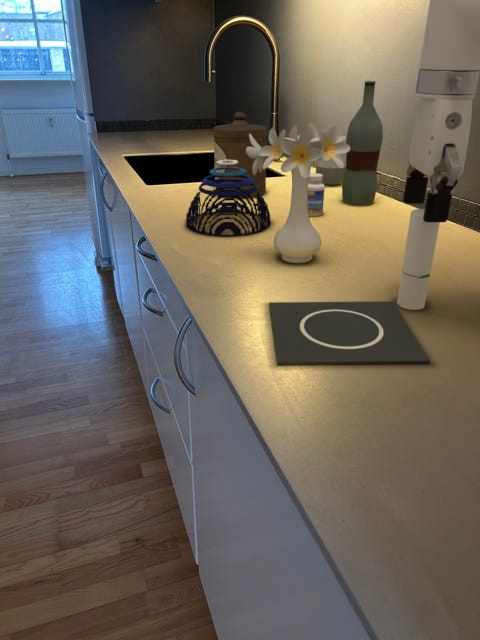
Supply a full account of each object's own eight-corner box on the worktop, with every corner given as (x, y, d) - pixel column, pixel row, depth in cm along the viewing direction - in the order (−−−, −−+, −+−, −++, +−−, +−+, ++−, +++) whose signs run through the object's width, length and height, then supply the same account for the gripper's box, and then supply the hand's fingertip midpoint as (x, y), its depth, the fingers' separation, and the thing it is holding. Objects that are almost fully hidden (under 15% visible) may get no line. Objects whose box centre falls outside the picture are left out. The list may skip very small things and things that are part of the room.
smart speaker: (311, 181, 162) (313, 135, 156) (338, 180, 164) (342, 134, 157) (320, 188, 154) (324, 139, 148) (349, 186, 156) (354, 138, 149)
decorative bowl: (273, 236, 114) (275, 170, 107) (183, 237, 114) (179, 170, 107) (268, 211, 131) (269, 153, 125) (190, 212, 131) (187, 154, 125)
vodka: (356, 196, 145) (368, 79, 131) (382, 202, 139) (397, 81, 125) (333, 201, 140) (343, 81, 126) (359, 208, 134) (372, 82, 120)
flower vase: (250, 246, 108) (250, 120, 97) (338, 249, 106) (350, 120, 94) (242, 268, 97) (242, 129, 85) (341, 273, 94) (354, 130, 83)
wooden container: (217, 186, 157) (215, 109, 147) (265, 186, 156) (266, 109, 146) (213, 198, 144) (210, 114, 134) (265, 198, 143) (267, 114, 133)
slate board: (392, 304, 83) (392, 300, 82) (429, 363, 67) (430, 359, 66) (268, 305, 83) (269, 301, 82) (276, 365, 67) (277, 360, 66)
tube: (396, 307, 81) (410, 215, 75) (397, 296, 85) (411, 208, 78) (424, 311, 80) (441, 218, 73) (424, 300, 84) (440, 210, 77)
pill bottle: (302, 216, 127) (304, 177, 123) (299, 210, 132) (301, 172, 128) (324, 216, 127) (327, 176, 123) (320, 210, 132) (323, 172, 128)
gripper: (504, 90, 60) (472, 230, 68) (450, 82, 76) (429, 197, 84) (441, 89, 60) (416, 230, 68) (399, 81, 75) (383, 196, 84)
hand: (423, 211), depth 76 cm, fingers open, 9 cm apart
